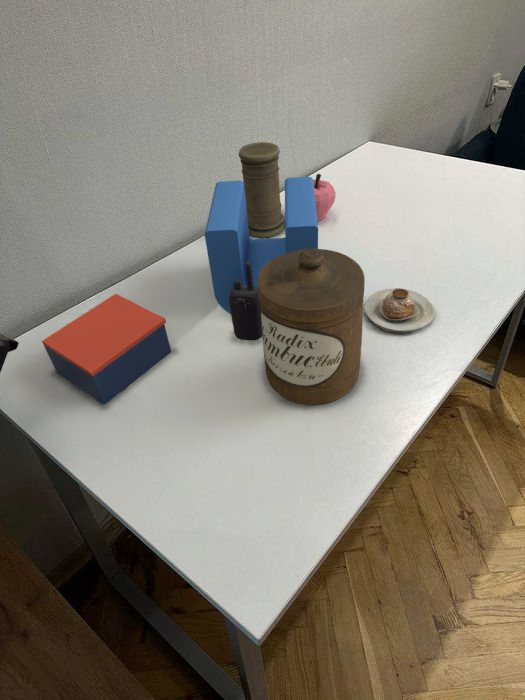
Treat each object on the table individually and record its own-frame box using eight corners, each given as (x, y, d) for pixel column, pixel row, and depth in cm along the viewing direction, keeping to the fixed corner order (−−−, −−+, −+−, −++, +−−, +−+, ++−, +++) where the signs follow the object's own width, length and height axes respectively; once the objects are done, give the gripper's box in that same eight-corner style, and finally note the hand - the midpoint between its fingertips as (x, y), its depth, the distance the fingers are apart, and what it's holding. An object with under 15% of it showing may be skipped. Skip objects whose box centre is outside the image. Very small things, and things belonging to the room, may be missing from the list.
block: (218, 319, 92) (203, 231, 80) (226, 264, 105) (215, 181, 93) (317, 315, 91) (318, 225, 79) (313, 260, 104) (313, 176, 92)
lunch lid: (116, 296, 89) (115, 293, 88) (166, 322, 82) (165, 318, 82) (43, 344, 80) (41, 341, 80) (92, 376, 74) (90, 373, 74)
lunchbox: (123, 325, 93) (114, 298, 88) (171, 352, 86) (164, 323, 82) (56, 372, 85) (43, 344, 80) (104, 405, 78) (92, 377, 74)
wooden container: (248, 385, 79) (233, 267, 65) (293, 330, 88) (289, 215, 74) (334, 419, 73) (340, 297, 58) (373, 356, 82) (386, 236, 67)
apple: (292, 212, 120) (290, 171, 113) (327, 206, 121) (328, 165, 114) (302, 231, 113) (301, 189, 106) (339, 225, 114) (341, 183, 107)
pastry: (359, 295, 94) (360, 275, 91) (423, 291, 94) (427, 270, 91) (370, 337, 86) (372, 316, 83) (442, 332, 85) (446, 311, 82)
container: (269, 242, 111) (263, 161, 99) (237, 231, 115) (228, 152, 103) (292, 224, 116) (289, 145, 104) (261, 215, 120) (255, 138, 108)
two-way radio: (266, 330, 89) (260, 257, 79) (261, 347, 86) (254, 273, 76) (236, 328, 90) (226, 255, 80) (229, 344, 87) (218, 271, 77)
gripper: (-47, 285, 50) (78, 314, 64) (-123, 235, 60) (0, 269, 73) (-84, 387, 51) (47, 394, 65) (-153, 322, 61) (-26, 340, 74)
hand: (16, 344), depth 69 cm, fingers closed
